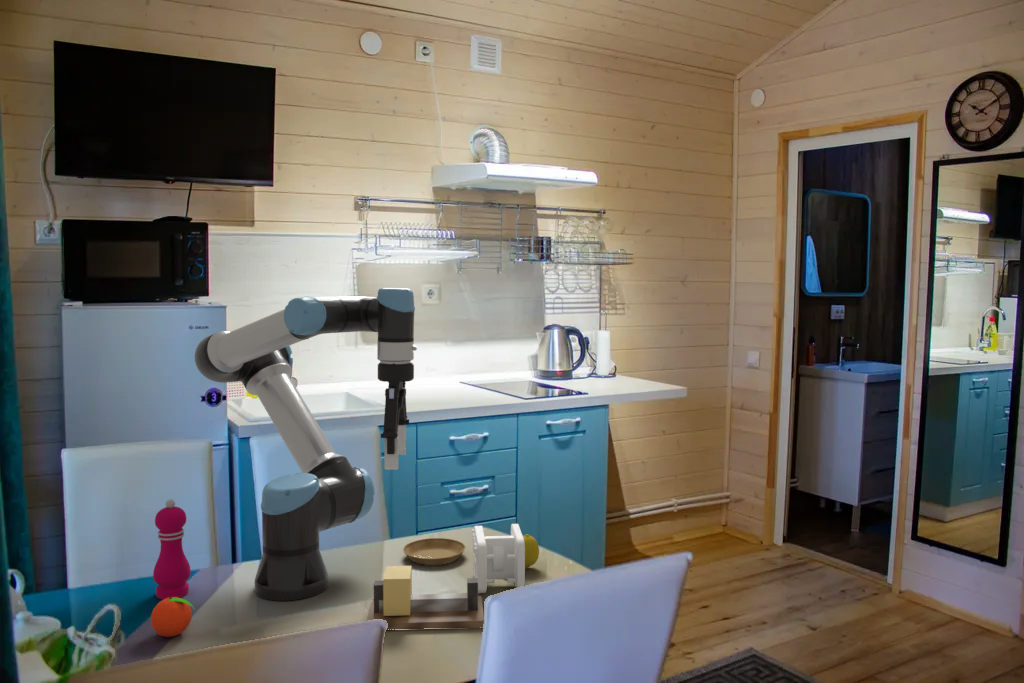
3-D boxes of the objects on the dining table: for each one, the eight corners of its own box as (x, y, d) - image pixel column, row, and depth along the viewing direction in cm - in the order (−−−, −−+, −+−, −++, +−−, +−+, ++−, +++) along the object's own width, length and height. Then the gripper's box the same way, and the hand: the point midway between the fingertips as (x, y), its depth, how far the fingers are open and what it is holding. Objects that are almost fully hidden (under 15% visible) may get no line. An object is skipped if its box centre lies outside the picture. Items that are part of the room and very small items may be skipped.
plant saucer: (428, 574, 179) (428, 562, 179) (390, 557, 190) (390, 546, 189) (478, 559, 189) (478, 548, 189) (440, 544, 200) (440, 533, 199)
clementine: (204, 627, 150) (203, 590, 150) (188, 643, 143) (187, 605, 143) (162, 626, 150) (160, 590, 150) (144, 643, 143) (142, 604, 143)
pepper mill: (147, 594, 166) (145, 499, 164) (181, 584, 171) (179, 493, 170) (162, 603, 161) (160, 506, 159) (197, 593, 166) (195, 499, 165)
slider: (383, 615, 151) (383, 579, 151) (386, 601, 158) (386, 566, 157) (410, 615, 151) (409, 578, 151) (411, 600, 158) (411, 565, 158)
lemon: (543, 567, 183) (543, 533, 182) (530, 574, 178) (530, 539, 178) (523, 562, 186) (523, 528, 185) (509, 569, 181) (510, 535, 181)
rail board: (366, 631, 148) (365, 595, 148) (372, 605, 160) (371, 571, 160) (484, 628, 150) (484, 592, 150) (481, 602, 162) (481, 569, 162)
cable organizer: (525, 597, 165) (526, 542, 165) (475, 599, 164) (475, 544, 163) (518, 571, 180) (518, 521, 179) (471, 572, 179) (471, 522, 178)
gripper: (407, 368, 155) (406, 476, 156) (419, 356, 179) (419, 449, 181) (368, 368, 154) (368, 475, 156) (386, 355, 179) (385, 448, 181)
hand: (395, 461), depth 169 cm, fingers open, 13 cm apart
